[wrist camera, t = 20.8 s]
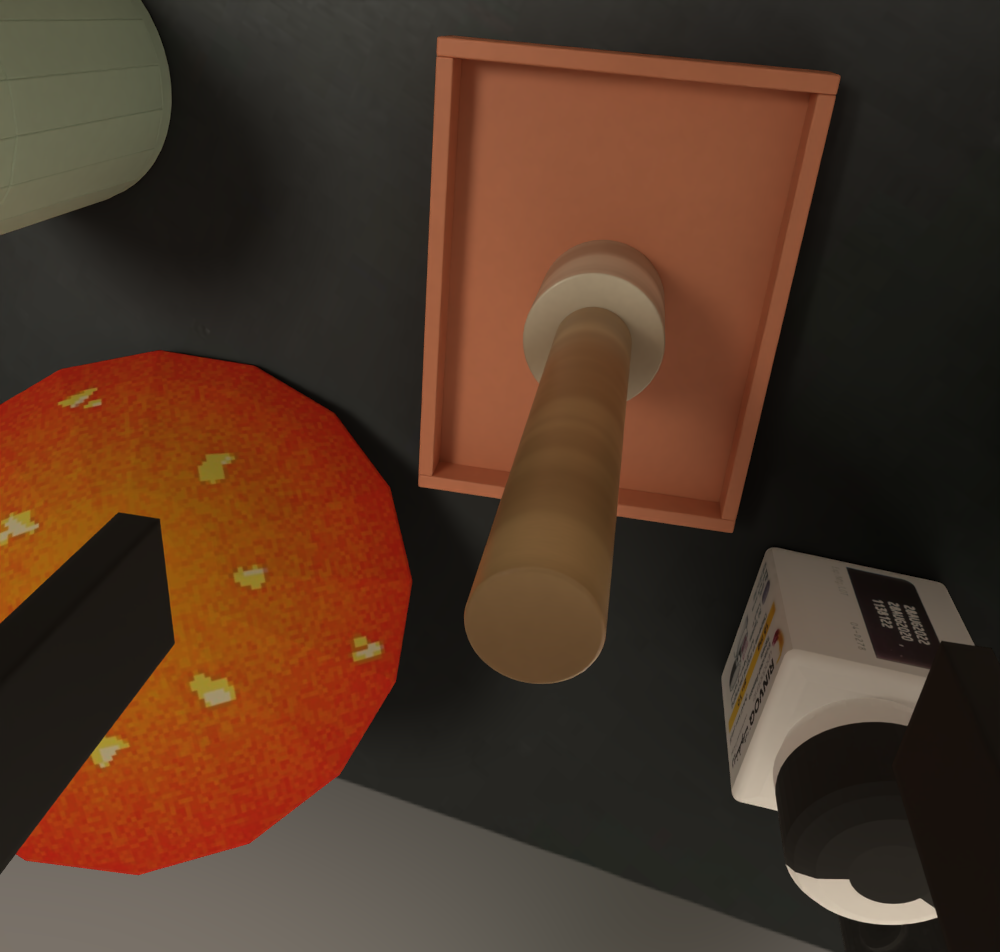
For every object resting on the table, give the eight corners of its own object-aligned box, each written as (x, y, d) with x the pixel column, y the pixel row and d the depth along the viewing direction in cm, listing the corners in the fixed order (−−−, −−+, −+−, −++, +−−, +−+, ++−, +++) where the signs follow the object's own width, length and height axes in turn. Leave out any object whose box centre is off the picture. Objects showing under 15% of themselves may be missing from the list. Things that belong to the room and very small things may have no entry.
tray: (449, 35, 32) (436, 36, 30) (831, 71, 30) (841, 75, 29) (428, 466, 40) (417, 487, 38) (729, 510, 38) (732, 534, 37)
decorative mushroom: (399, 687, 46) (293, 959, 33) (16, 550, 46) (-244, 766, 33) (483, 443, 39) (391, 664, 26) (30, 280, 39) (-296, 418, 26)
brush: (546, 232, 34) (408, 494, 15) (674, 247, 33) (691, 536, 15) (534, 352, 36) (401, 707, 18) (653, 368, 36) (645, 750, 17)
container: (766, 541, 39) (810, 761, 27) (947, 580, 38) (1069, 821, 27) (718, 677, 42) (740, 922, 31) (882, 714, 42) (966, 977, 30)
